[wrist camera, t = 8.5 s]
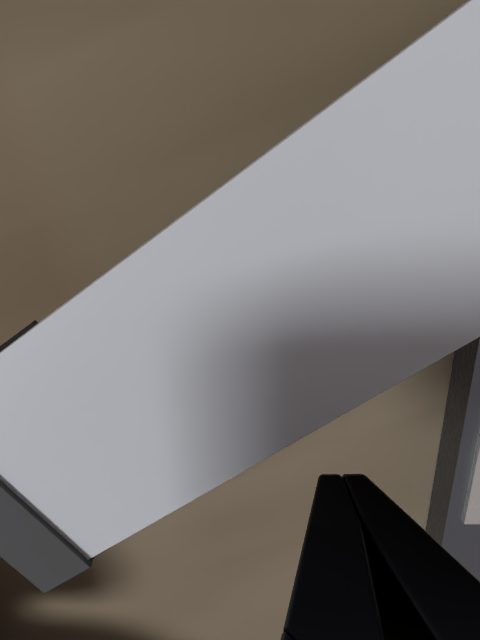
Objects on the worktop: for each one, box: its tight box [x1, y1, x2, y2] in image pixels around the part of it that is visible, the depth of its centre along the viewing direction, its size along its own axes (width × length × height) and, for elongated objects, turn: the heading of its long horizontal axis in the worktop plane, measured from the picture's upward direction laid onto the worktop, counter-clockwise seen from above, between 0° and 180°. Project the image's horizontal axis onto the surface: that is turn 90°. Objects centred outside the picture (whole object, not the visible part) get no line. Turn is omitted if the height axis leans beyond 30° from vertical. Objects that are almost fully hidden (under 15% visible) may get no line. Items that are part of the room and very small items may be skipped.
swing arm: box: [0, 0, 480, 593], centre depth 8 cm, size 20×4×4 cm, turn 125°
